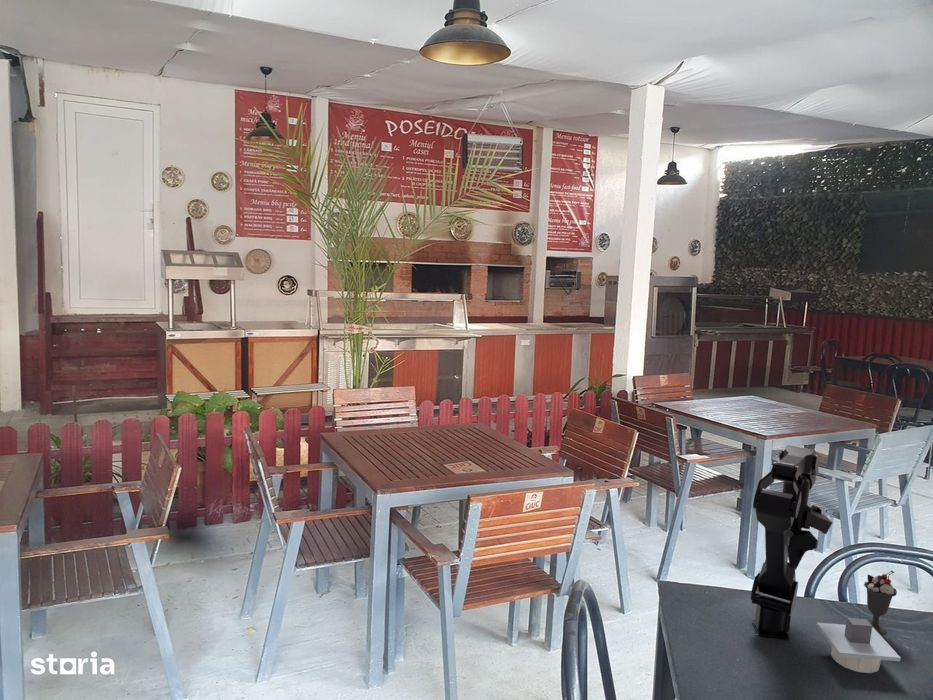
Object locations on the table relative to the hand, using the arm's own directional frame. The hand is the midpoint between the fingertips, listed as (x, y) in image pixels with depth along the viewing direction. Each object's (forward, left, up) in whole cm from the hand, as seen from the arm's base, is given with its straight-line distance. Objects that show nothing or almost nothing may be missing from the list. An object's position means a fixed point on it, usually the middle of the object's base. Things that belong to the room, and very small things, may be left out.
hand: (787, 561), depth 176 cm
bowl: (+9, -21, -12) cm, 26 cm away
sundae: (+19, -6, -12) cm, 23 cm away
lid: (+9, -21, -8) cm, 24 cm away
